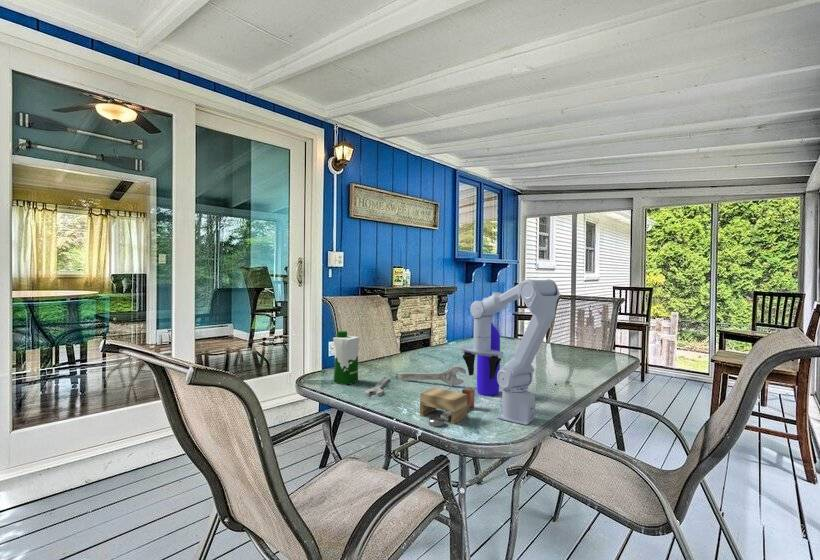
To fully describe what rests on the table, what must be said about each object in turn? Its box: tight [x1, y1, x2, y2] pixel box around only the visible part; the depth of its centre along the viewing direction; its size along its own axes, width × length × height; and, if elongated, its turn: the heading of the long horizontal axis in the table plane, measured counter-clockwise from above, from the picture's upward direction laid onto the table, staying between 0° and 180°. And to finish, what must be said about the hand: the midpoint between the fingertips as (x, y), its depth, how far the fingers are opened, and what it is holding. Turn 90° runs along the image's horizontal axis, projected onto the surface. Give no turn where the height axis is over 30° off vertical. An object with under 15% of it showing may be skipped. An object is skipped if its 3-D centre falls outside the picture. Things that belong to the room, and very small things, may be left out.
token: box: [428, 416, 445, 428], centre depth 123 cm, size 4×4×2 cm
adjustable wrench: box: [364, 376, 390, 398], centre depth 162 cm, size 25×6×2 cm, turn 166°
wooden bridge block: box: [419, 387, 468, 425], centre depth 130 cm, size 12×8×7 cm, turn 55°
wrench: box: [394, 365, 467, 388], centre depth 168 cm, size 8×2×30 cm
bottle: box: [476, 322, 501, 397], centre depth 156 cm, size 8×8×30 cm
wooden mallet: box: [439, 387, 476, 422], centre depth 133 cm, size 3×17×6 cm, turn 145°
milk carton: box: [332, 330, 361, 385], centre depth 169 cm, size 9×9×20 cm
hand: (481, 376), depth 142 cm, fingers open, 7 cm apart
